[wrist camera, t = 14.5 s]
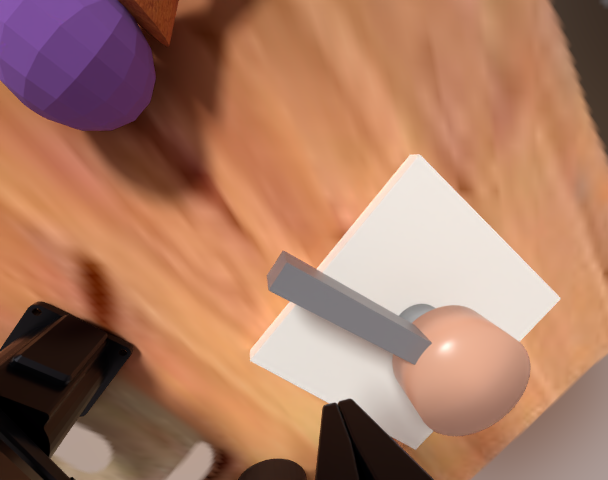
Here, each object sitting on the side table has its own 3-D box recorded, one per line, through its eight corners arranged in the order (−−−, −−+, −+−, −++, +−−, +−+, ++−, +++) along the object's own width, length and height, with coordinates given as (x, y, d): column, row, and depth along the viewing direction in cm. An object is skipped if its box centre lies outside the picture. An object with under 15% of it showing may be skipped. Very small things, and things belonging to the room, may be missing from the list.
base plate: (408, 437, 26) (434, 484, 23) (250, 349, 21) (249, 391, 17) (546, 292, 24) (600, 316, 21) (409, 154, 19) (448, 153, 15)
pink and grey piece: (508, 332, 19) (552, 362, 16) (445, 408, 20) (476, 449, 17) (310, 205, 15) (323, 216, 12) (241, 313, 16) (238, 347, 13)
